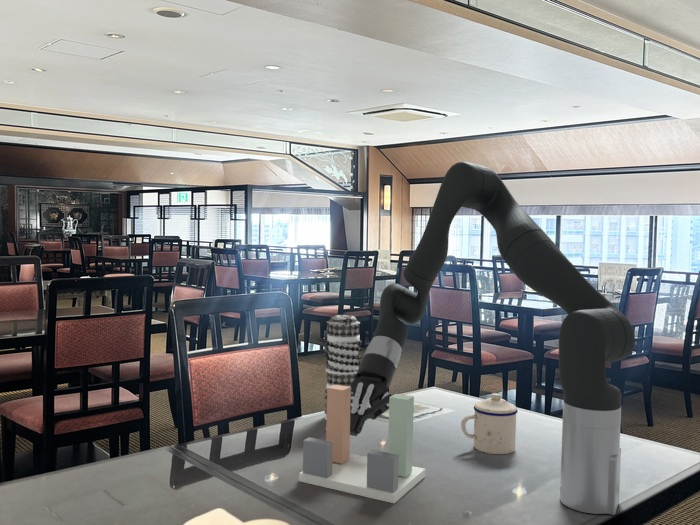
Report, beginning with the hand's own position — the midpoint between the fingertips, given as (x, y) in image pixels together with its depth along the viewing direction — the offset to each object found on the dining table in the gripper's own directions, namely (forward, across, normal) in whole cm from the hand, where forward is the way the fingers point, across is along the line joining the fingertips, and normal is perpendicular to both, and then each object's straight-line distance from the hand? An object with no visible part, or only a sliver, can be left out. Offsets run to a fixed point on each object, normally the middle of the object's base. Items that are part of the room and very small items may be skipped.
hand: (351, 433), depth 131 cm
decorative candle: (-13, -16, +21) cm, 29 cm away
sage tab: (+6, +13, -1) cm, 15 cm away
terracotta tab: (+6, 0, -2) cm, 7 cm away
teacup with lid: (-11, +21, +19) cm, 31 cm away
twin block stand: (+9, +6, -2) cm, 11 cm away
